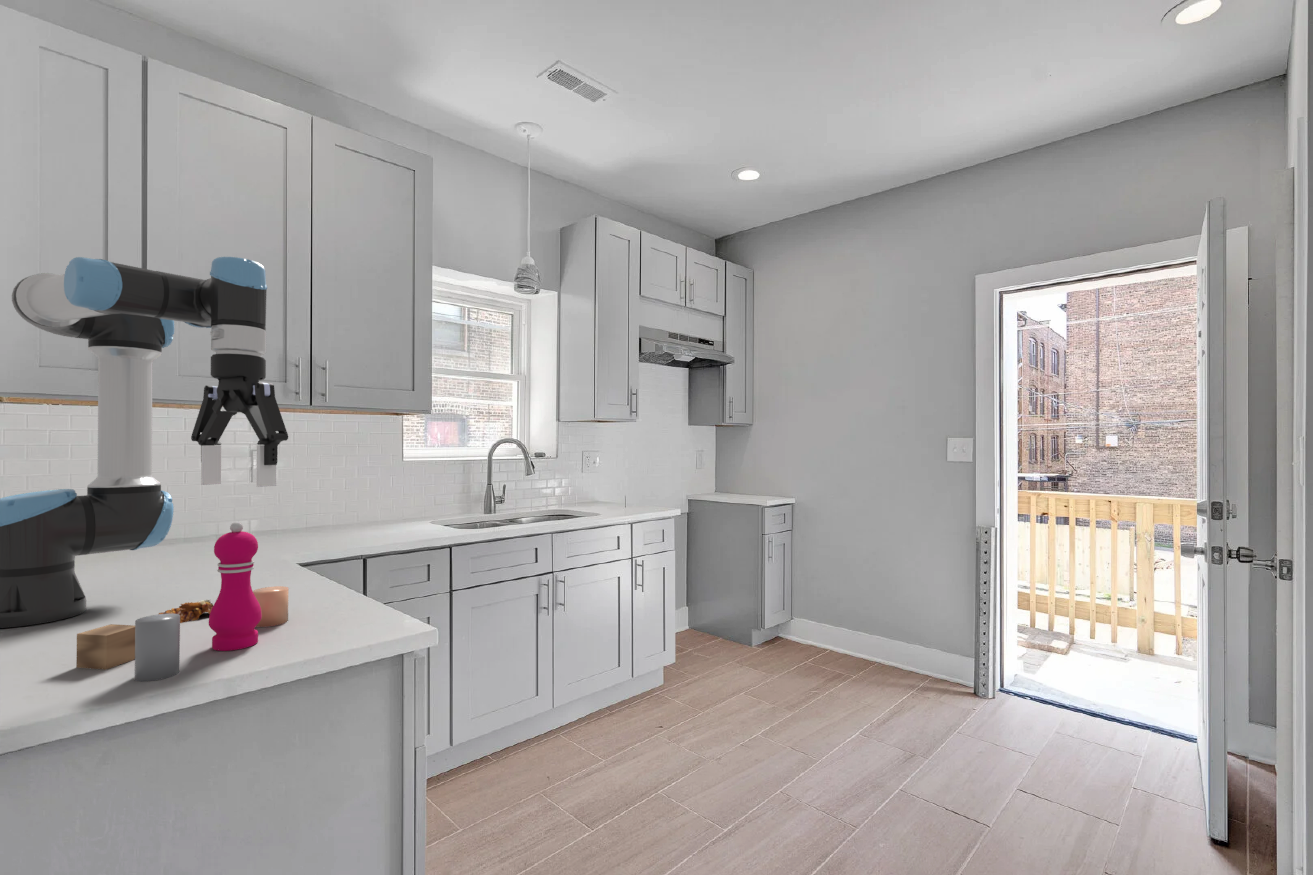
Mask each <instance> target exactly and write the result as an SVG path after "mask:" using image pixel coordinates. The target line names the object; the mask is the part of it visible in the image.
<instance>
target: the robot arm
mask: <svg viewBox="0 0 1313 875" xmlns="http://www.w3.org/2000/svg"><path fill="white" fill-rule="evenodd" d="M266 275H267V274H266V269H265V267H264V265H262V264H261V263H259V262H258V261H256V260H252V259H249V258H245V257H244V258H243V257H237V256H218V257H216V258H214V259H213V260H212V262H211V267H210V271H209V276H210V278H208V279H207V278H206V279H202V278H196V277H190V276H186V275H185V276H184V275H181V274H180V275H179V274H175V273H170V272H164V271H159V270H152V269H147V268H143V267H138V266H132V265H127V264H123V263H118V262H114V261H109V260H106V259H104V258H103V259H101V258H91V257H90V258H88V257H83V256H76V257H74V258H72V259H71V260H70V261H69V263H68V264H67V266H66V269H65V272H64V274H55V273H49V272H47V273H45V272H44V273H43V272H42V273H36V274H32V275H29V276H27V277H24V278H22V279H21V280H19V281H18V282H17V283H16V285H15V286H14V287H13V289H12V293H11V302H12V305H13V308H14V310H15V311H16V313H18V315H19V316H20V317H21V318H22V319H23V320H24V321H26V322H27V323H28V324H30V325H32V326H34V327H35V328H38V329H40V330H42V331H45V332H47V333H51V334H54V335H58V336H63V337H68V338H75V339H82V340H83V339H84V340H87V341H88V342H87V344H88V345H87V348H88V351H89V352H90V353H91V354H93V355H94V356H95V357H96V358H97V360H98V362H97V364H98V367H97V368H98V370H97V372H98V376H97V377H98V378H97V379H98V380H97V381H98V384H97V476H96V478H95V479H94V480H92V481H91V482H90V483H89V484H88V485H87V488H86V492H87V493H86V495H78V493H77V492H76V490H75V489H72V488H63V489H62V488H60V489H59V488H58V489H52V490H50V489H48V490H47V489H46V490H43V491H42V490H41V491H39V490H38V491H31V492H26V493H20V494H14V495H9V496H4V497H1V498H0V629H3V628H5V629H6V628H16V627H26V626H34V625H41V624H45V623H49V622H50V623H52V622H55V621H56V622H57V621H60V620H61V621H62V620H65V619H68V618H72V617H75V616H77V615H81V614H83V613H84V612H86V611H87V597H86V595H85V592H84V590H83V588H82V586H81V583H80V581H79V579H78V576H77V574H76V570H75V568H76V565H75V563H76V562H75V560H76V557H77V556H86V555H95V554H102V553H103V554H104V553H111V552H112V553H113V552H119V551H120V552H122V551H123V552H124V551H128V550H129V551H136V550H139V549H145V548H146V549H147V548H151V547H152V548H153V547H155V546H158V545H160V543H162V542H163V541H164V540H165V538H166V537H167V535H168V534H169V532H170V530H171V526H172V523H173V519H174V507H175V506H174V503H173V497H172V495H171V494H170V493H169V492H168V491H165V490H162V482H160V481H159V480H157V479H156V478H155V477H154V475H153V362H154V361H155V360H156V359H158V358H159V357H160V356H162V354H163V353H162V351H163V350H162V349H164V348H167V347H169V346H170V345H171V344H172V343H173V340H174V334H175V321H176V322H180V323H181V322H182V323H185V324H187V325H188V326H190V327H194V328H200V329H201V328H206V329H211V331H210V334H209V335H210V337H211V339H210V341H211V343H210V349H211V351H212V352H213V353H214V354H212V355H211V356H210V376H211V377H212V378H213V379H215V380H218V384H217V385H216V386H215V385H205V386H204V387H203V395H202V396H203V398H202V401H201V405H200V407H199V411H198V414H197V417H196V421H195V423H194V427H193V429H192V433H191V435H190V436H191V437H190V438H191V441H192V442H197V443H198V445H199V446H200V463H201V468H200V469H201V470H200V471H201V473H200V474H201V476H200V477H201V478H200V480H201V481H200V485H201V486H207V485H208V486H209V485H222V443H221V440H220V439H221V437H222V436H223V434H224V432H225V430H226V428H227V426H228V425H229V422H230V421H231V419H232V418H233V416H235V415H237V414H238V413H241V414H244V416H245V417H246V419H247V421H248V422H249V424H250V426H251V427H252V429H253V432H254V433H255V435H256V436H257V438H258V441H257V443H256V444H257V445H256V487H257V488H260V487H276V486H277V465H278V446H279V445H280V444H281V442H283V441H288V440H289V434H288V431H287V428H286V425H285V421H284V419H283V417H282V413H281V411H280V408H279V405H278V402H277V399H276V392H275V385H274V384H273V383H268V382H260V381H264V380H265V379H266V375H267V372H266V371H267V368H266V367H267V365H266V364H267V360H266V359H265V358H264V357H263V356H264V355H266V354H267V328H266V326H267V325H266V323H267V289H268V285H267V280H266V279H267V278H266Z"/></svg>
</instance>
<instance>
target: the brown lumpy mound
mask: <svg viewBox="0 0 1313 875" xmlns="http://www.w3.org/2000/svg"><path fill="white" fill-rule="evenodd" d="M213 606H214V603H213V602H212V603H211V599H205V600H204V599H202V600H199V601H196V602H195V601H194V602H193V601H191V602H184V603H180V605H179V606H178V607H176V608H173V607H172V608H171V609H167V610H165V611H164V612H158V614H179V615H180V624H183V623H187V622H194V621H198V620H199V619H200V616H201V615H203V614H205V613H208V614H209V615H210V612H211V610H212V607H213Z"/></svg>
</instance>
